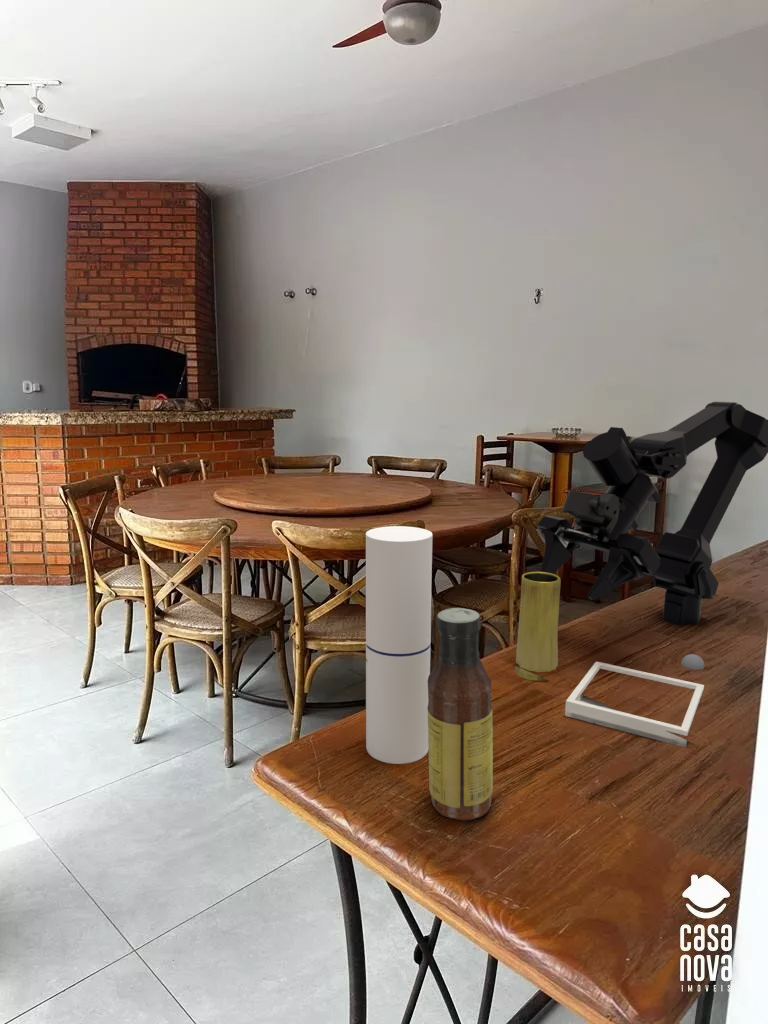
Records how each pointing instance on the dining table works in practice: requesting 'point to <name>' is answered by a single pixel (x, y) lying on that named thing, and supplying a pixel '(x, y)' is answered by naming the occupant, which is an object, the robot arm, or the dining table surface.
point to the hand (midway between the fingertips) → (564, 589)
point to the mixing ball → (693, 662)
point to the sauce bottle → (460, 720)
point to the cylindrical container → (398, 642)
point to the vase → (538, 625)
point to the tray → (616, 719)
